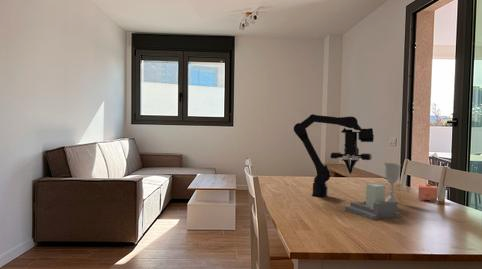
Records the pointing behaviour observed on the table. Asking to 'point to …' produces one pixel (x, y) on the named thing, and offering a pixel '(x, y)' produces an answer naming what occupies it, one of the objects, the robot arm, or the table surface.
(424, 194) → the pink cube teapot
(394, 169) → the chalice
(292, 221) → the table surface
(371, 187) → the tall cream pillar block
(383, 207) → the track
